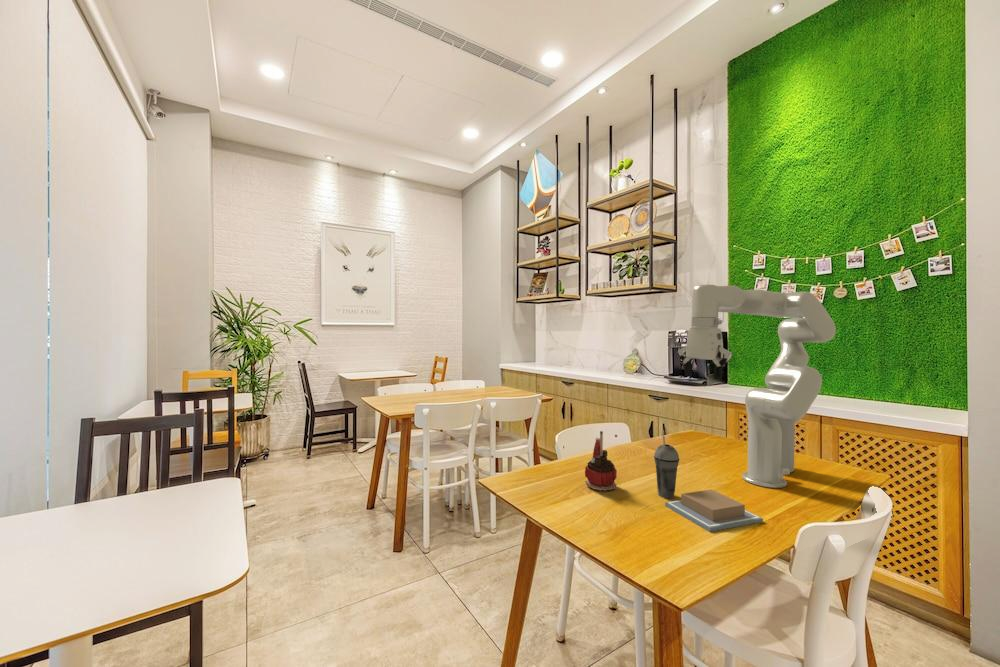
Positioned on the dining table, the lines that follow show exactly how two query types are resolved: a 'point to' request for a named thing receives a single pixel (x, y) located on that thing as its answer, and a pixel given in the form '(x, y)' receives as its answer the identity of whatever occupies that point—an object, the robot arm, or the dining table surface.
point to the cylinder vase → (787, 444)
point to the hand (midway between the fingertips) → (702, 377)
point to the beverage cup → (666, 469)
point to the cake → (600, 468)
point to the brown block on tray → (713, 510)
